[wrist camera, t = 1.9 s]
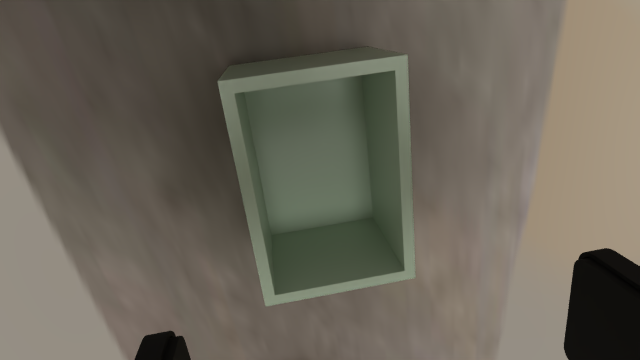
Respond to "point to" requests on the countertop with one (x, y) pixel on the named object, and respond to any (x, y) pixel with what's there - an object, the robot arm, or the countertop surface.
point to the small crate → (324, 169)
